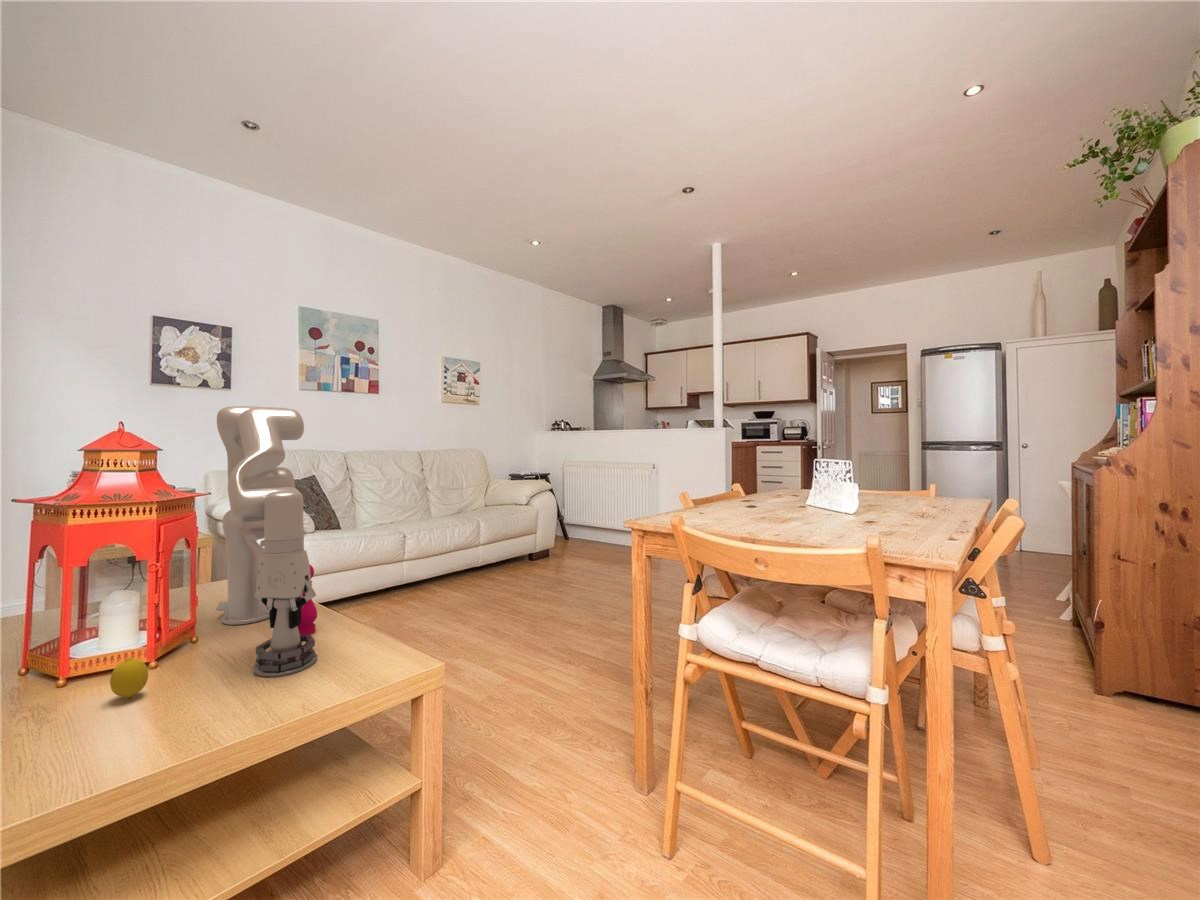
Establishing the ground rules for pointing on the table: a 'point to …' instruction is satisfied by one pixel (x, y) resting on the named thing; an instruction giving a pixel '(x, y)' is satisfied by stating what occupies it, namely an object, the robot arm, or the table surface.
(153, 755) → the table surface
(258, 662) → the collar stand
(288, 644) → the salt shaker
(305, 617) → the pepper mill
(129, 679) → the lemon
